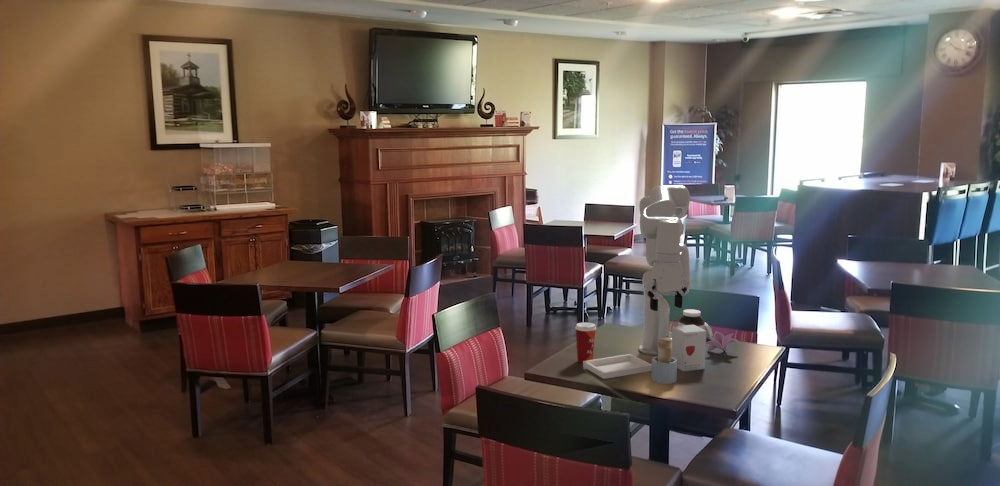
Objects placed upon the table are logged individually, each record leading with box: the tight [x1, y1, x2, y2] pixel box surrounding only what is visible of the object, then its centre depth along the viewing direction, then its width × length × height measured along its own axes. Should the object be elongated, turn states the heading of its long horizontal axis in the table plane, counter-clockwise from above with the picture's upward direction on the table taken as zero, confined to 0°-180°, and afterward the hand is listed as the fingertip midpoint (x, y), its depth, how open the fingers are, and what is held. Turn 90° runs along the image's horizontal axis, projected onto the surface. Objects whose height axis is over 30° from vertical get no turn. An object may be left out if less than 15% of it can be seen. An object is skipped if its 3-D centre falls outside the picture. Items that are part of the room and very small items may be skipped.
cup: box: [650, 355, 678, 385], centre depth 245 cm, size 8×8×8 cm
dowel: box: [657, 337, 672, 363], centre depth 244 cm, size 4×4×14 cm
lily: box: [706, 330, 739, 357], centre depth 274 cm, size 12×12×10 cm
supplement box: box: [671, 325, 707, 372], centre depth 258 cm, size 9×9×15 cm
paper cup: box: [574, 322, 597, 365], centre depth 266 cm, size 8×8×14 cm
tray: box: [582, 353, 652, 380], centre depth 257 cm, size 20×14×3 cm
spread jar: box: [677, 308, 714, 340], centre depth 294 cm, size 12×11×12 cm
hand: (666, 308), depth 241 cm, fingers open, 9 cm apart
